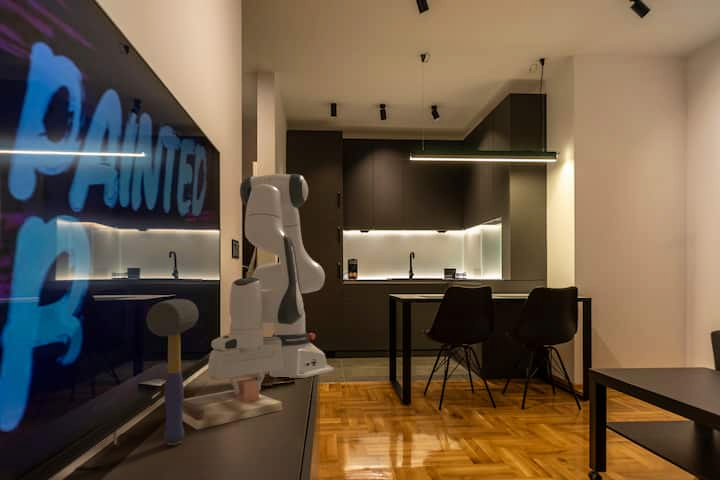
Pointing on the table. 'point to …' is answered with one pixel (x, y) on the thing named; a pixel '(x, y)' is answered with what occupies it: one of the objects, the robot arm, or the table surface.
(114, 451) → the table surface
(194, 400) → the steel straightedge
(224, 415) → the birch board
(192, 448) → the table surface
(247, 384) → the block
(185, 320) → the rubber mallet
